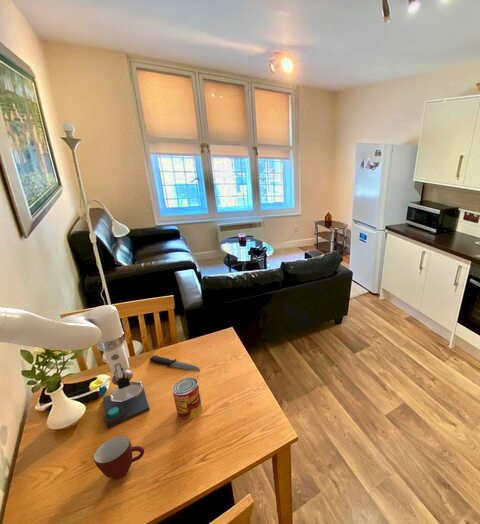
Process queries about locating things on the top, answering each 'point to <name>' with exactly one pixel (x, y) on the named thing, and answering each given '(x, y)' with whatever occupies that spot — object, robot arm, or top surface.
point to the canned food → (187, 398)
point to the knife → (172, 363)
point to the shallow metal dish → (126, 392)
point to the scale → (125, 409)
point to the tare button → (113, 412)
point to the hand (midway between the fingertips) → (123, 380)
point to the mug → (116, 456)
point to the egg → (128, 373)
